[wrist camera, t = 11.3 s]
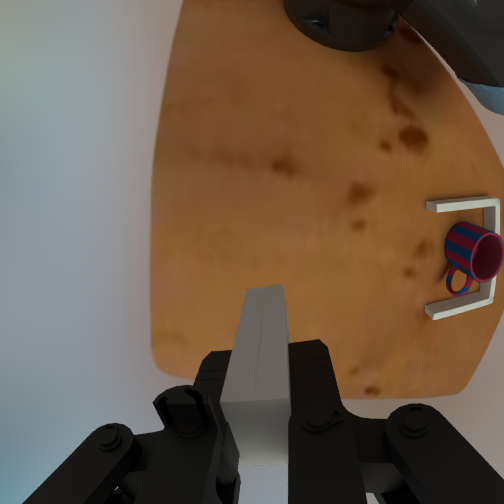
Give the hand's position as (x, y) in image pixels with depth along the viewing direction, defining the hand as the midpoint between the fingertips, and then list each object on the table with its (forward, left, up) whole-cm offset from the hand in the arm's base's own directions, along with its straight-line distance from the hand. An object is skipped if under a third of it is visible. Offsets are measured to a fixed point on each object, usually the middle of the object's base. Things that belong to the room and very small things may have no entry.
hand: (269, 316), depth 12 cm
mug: (+8, +26, -25) cm, 37 cm away
